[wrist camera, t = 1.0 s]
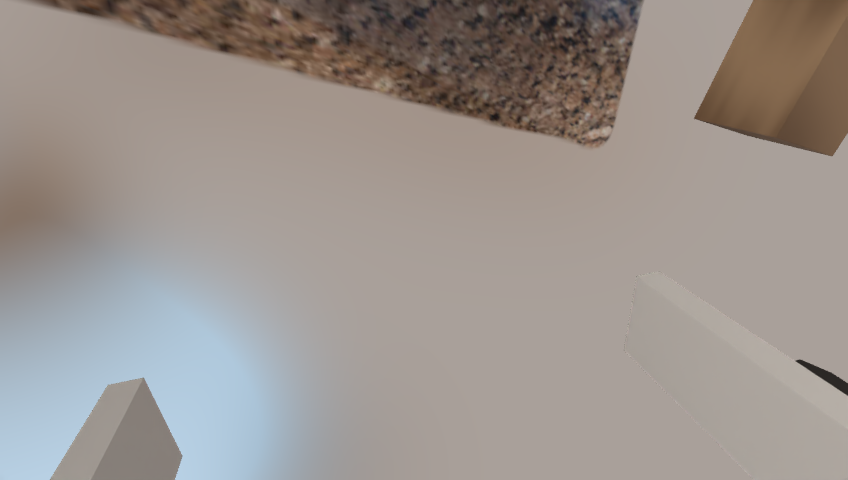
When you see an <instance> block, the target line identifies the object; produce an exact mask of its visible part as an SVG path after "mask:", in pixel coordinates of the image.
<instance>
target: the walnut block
mask: <svg viewBox="0 0 848 480" xmlns="http://www.w3.org/2000/svg"><path fill="white" fill-rule="evenodd" d="M695 119H697V120H700V121H703V122H706V123H710V124H713V125H716V126H719V127H722V128H725V129H729V130H731V131H735V132H738V133H741V134H744V135H747V136H752V137H755V138H759V139H763V140H768V141H772V142H776V143H780V144H784V145H788V146H792V147H796V148H801V149H804V150H809V151H813V152H817V153H821V154H825V155H829V156H833V154H834V153H835V152H836V150H837V149H838V147H839V145H840V144H841V142H842V141H843V139H844V138H845V136H846V134H847V133H848V0H753V2H752V4H751V6H750V8H749V10H748V12H747V14H746V16H745V18H744V20H743V22H742V24H741V26H740V28H739V30H738V32H737V34H736V36H735V38H734V40H733V42H732V44H731V46H730V48H729V50H728V52H727V54H726V56H725V58H724V60H723V62H722V64H721V66H720V68H719V70H718V72H717V74H716V76H715V78H714V80H713V82H712V84H711V86H710V88H709V90H708V92H707V94H706V96H705V98H704V100H703V102H702V104H701V106H700V108H699V110H698V112H697V113H696V115H695Z"/></svg>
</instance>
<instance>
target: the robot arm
mask: <svg viewBox="0 0 848 480" xmlns="http://www.w3.org/2000/svg"><path fill="white" fill-rule="evenodd" d="M624 351H625V352H626V353H627V354H628V355H629V356H630V357H631V358H632V359H633V360H634V361H635V362H636V363H637V364H638V365H639V366H640V367H641V368H642V369H643V370H644V371H645V372H646V373H647V374H648V375H649V376H650V377H651V378H652V379H653V380H654V381H655V382H656V383H657V384H658V385H659V386H660V387H661V388H662V389H663V390H664V391H665V392H666V393H667V394H668V395H669V396H670V397H671V398H672V399H673V400H674V401H675V402H676V403H677V404H678V405H679V406H680V407H681V408H682V409H683V410H684V411H685V412H686V413H687V414H688V415H689V416H690V417H691V418H692V419H693V420H694V421H695V422H696V423H697V424H698V425H699V426H700V427H701V428H702V429H703V430H704V431H705V432H706V433H708V435H709V436H710V437H711V438H712V439H713V440H714V441H715V442H716V443H717V444H718V445H719V446H720V447H721V448H722V449H723V450H724V451H725V452H726V453H727V454H728V455H729V456H730V457H731V458H732V459H733V460H734V461H735V462H736V463H737V464H738V465H739V466H740V467H741V468H742V469H743V470H744V471H745V472H746V473H747V474H748V475H749V476H750V477H751V478H752V479H753V480H848V383H846V382H845V381H843V380H842V379H840V378H839V377H837V376H836V375H834V374H832V373H831V372H828V371H826V370H824V369H821V368H819V367H816V366H814V365H812V364H810V363H807V362H805V361H803V360H797V361H794V360H793V359H791V358H790V357H788V356H787V355H785V354H783V353H782V352H781V351H779V350H777V349H776V348H775V347H773V346H772V345H770V344H769V343H767V342H766V341H764V340H762V339H761V338H760V337H758V336H756V335H755V334H754V333H752V332H750V331H749V330H747V329H746V328H744V327H743V326H741V325H740V324H738V323H737V322H735V321H734V320H732V319H731V318H729V317H728V316H726V315H725V314H723V313H722V312H720V311H718V310H717V309H716V308H714V307H713V306H711V305H710V304H708V303H706V302H705V301H704V300H702V299H701V298H699V297H698V296H696V295H695V294H693V293H691V292H690V291H688V290H687V289H686V288H684V287H682V286H681V285H680V284H678V283H676V282H675V281H673V280H672V279H670V278H669V277H667V276H666V275H664V274H663V273H661V272H655V273H649V274H645V275H640V276H637V277H636V282H635V288H634V294H633V301H632V306H631V312H630V318H629V323H628V330H627V336H626V341H625V348H624ZM181 459H182V454H181V452H180V451H179V448H178V446H177V444H176V442H175V440H174V438H173V436H172V434H171V432H170V430H169V428H168V426H167V424H166V422H165V420H164V418H163V416H162V414H161V412H160V410H159V408H158V406H157V404H156V402H155V400H154V398H153V396H152V394H151V392H150V390H149V387H148V386H147V384H146V381H145V379H144V378H140V379H135V380H130V381H126V382H121V383H116V384H111V385H108V386H107V387H106V389H105V391H104V393H103V394H102V396H101V397H100V399H99V400H98V402H97V404H96V405H95V407H94V409H93V410H92V412H91V414H90V415H89V417H88V418H87V420H86V422H85V423H84V425H83V427H82V428H81V430H80V432H79V433H78V435H77V436H76V438H75V440H74V441H73V443H72V445H71V446H70V448H69V450H68V451H67V453H66V454H65V456H64V458H63V459H62V461H61V463H60V464H59V466H58V467H57V469H56V471H55V472H54V474H53V476H52V477H51V479H50V480H175V477H176V474H177V471H178V468H179V465H180V461H181Z"/></svg>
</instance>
